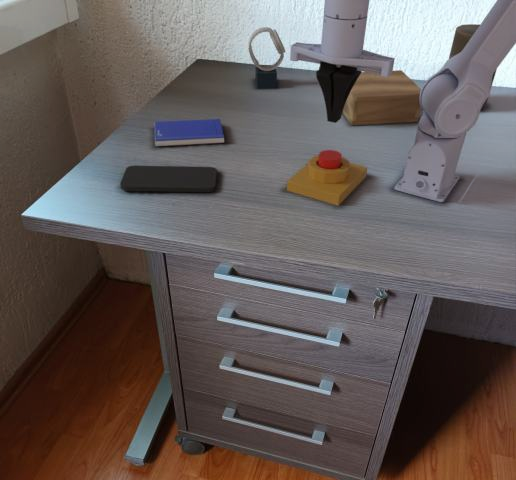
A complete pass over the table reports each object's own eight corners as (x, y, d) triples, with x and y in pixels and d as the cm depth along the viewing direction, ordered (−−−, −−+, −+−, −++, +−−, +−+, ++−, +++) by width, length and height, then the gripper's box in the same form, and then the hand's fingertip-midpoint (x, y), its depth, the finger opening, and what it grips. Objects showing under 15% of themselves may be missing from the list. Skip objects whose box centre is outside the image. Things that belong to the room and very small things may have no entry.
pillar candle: (467, 116, 106) (491, 32, 96) (428, 101, 111) (447, 20, 101) (495, 104, 110) (520, 23, 100) (456, 91, 116) (477, 13, 105)
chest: (417, 121, 104) (423, 96, 100) (351, 125, 102) (354, 99, 99) (396, 98, 113) (400, 74, 109) (334, 101, 111) (337, 77, 108)
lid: (425, 97, 100) (426, 93, 99) (356, 101, 98) (356, 97, 98) (400, 74, 109) (401, 70, 109) (337, 77, 108) (337, 73, 107)
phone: (214, 188, 82) (118, 186, 82) (214, 193, 83) (119, 191, 82) (217, 166, 87) (127, 165, 87) (217, 171, 88) (128, 169, 88)
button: (334, 172, 81) (335, 162, 80) (313, 167, 83) (314, 156, 81) (344, 163, 84) (345, 153, 82) (323, 158, 85) (324, 148, 84)
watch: (285, 88, 117) (287, 32, 109) (249, 88, 116) (249, 32, 108) (282, 79, 121) (284, 24, 113) (247, 80, 120) (247, 25, 112)
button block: (338, 205, 80) (340, 184, 78) (286, 190, 84) (287, 169, 81) (366, 177, 87) (369, 156, 85) (317, 164, 90) (319, 144, 88)
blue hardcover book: (154, 138, 93) (223, 135, 95) (154, 120, 99) (219, 117, 100) (155, 147, 94) (224, 143, 96) (155, 128, 100) (220, 125, 102)
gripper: (408, 14, 69) (389, 119, 78) (307, 1, 73) (301, 102, 83) (391, 27, 64) (373, 137, 74) (285, 12, 69) (281, 117, 79)
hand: (334, 119), depth 78 cm, fingers closed
